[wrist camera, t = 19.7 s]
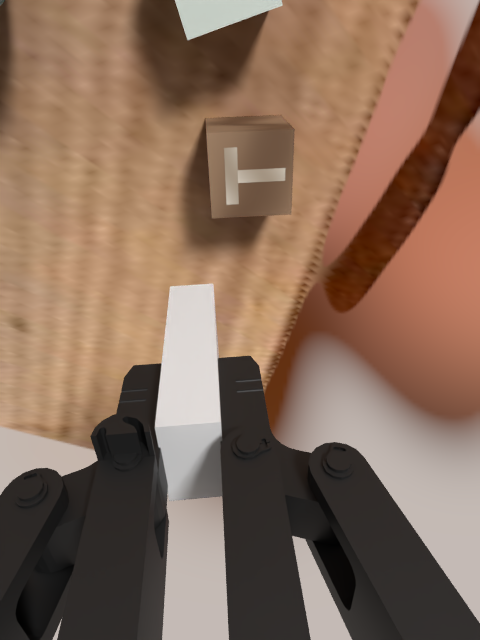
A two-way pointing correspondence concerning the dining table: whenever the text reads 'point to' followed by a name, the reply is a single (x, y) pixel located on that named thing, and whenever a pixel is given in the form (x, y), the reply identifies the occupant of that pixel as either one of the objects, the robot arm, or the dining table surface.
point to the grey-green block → (218, 13)
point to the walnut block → (250, 165)
